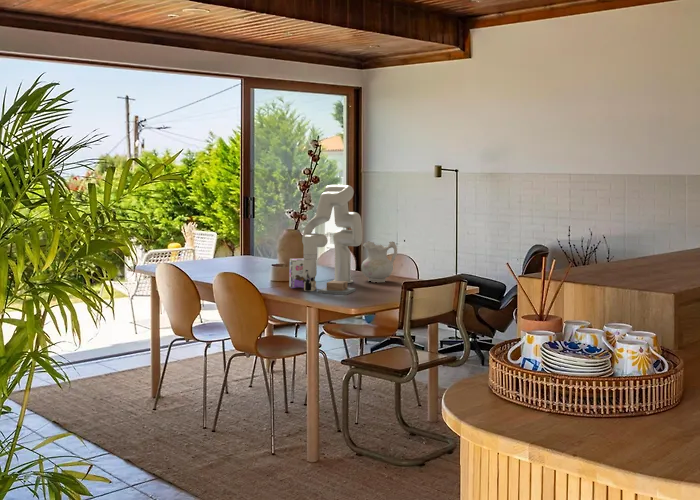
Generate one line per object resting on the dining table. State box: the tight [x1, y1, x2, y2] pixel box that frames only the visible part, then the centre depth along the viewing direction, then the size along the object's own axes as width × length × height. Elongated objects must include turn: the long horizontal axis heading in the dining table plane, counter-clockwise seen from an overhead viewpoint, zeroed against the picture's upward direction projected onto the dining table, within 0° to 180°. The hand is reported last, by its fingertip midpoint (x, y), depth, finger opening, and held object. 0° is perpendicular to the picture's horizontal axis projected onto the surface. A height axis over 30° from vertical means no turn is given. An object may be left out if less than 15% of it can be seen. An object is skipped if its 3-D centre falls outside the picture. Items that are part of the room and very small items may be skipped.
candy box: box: [288, 258, 309, 289], centre depth 479 cm, size 14×6×16 cm, turn 105°
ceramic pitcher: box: [361, 241, 398, 283], centre depth 509 cm, size 22×20×25 cm
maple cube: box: [303, 280, 317, 292], centre depth 467 cm, size 5×5×5 cm
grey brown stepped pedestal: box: [317, 280, 356, 295], centre depth 462 cm, size 16×16×6 cm
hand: (310, 289), depth 467 cm, fingers closed on maple cube, 5 cm apart
